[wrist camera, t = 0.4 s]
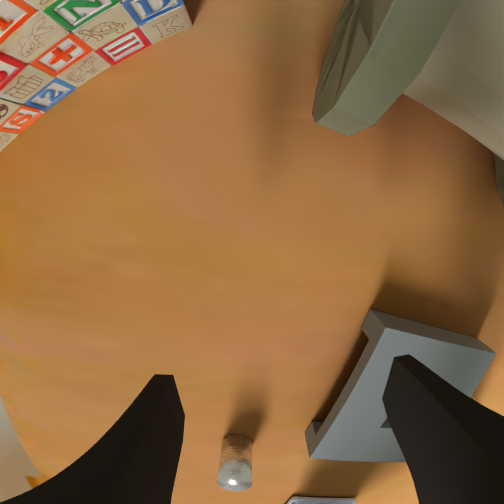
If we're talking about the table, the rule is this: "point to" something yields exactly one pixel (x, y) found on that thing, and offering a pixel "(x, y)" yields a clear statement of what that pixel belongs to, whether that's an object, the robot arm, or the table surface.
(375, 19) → the spool
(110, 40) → the stack of blocks
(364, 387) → the board
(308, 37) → the table surface
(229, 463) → the short pin
